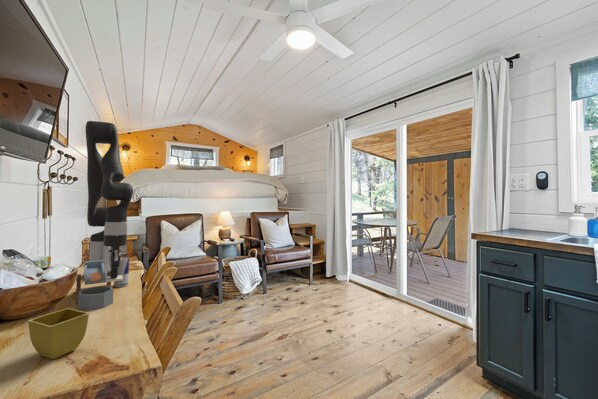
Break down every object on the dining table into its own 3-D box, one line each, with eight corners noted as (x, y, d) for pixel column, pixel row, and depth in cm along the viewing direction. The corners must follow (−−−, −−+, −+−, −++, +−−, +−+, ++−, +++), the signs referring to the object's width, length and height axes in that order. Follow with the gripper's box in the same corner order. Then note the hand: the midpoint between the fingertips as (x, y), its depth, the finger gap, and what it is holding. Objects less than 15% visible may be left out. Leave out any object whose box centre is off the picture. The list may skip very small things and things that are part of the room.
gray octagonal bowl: (77, 303, 101) (78, 289, 101) (110, 297, 107) (111, 284, 107) (77, 312, 93) (78, 297, 93) (113, 305, 99) (114, 291, 99)
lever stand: (75, 291, 113) (76, 270, 113) (108, 287, 119) (109, 267, 120) (75, 304, 99) (76, 280, 99) (112, 298, 106) (113, 275, 106)
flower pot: (25, 357, 66) (26, 319, 66) (66, 341, 74) (68, 307, 74) (48, 366, 63) (50, 326, 63) (88, 348, 71) (90, 312, 71)
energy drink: (131, 284, 124) (132, 257, 124) (122, 287, 119) (123, 259, 119) (119, 283, 125) (120, 256, 125) (110, 287, 120) (111, 259, 120)
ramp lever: (81, 272, 113) (82, 261, 112) (118, 268, 121) (119, 258, 120) (82, 288, 102) (82, 277, 101) (122, 283, 110) (123, 272, 109)
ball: (89, 278, 105) (90, 271, 103) (100, 277, 107) (101, 269, 106) (89, 284, 102) (90, 277, 101) (101, 283, 104) (102, 275, 103)
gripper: (102, 232, 112) (100, 275, 111) (105, 235, 101) (103, 283, 101) (124, 231, 117) (122, 273, 116) (129, 234, 106) (127, 280, 106)
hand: (113, 277), depth 109 cm, fingers closed
